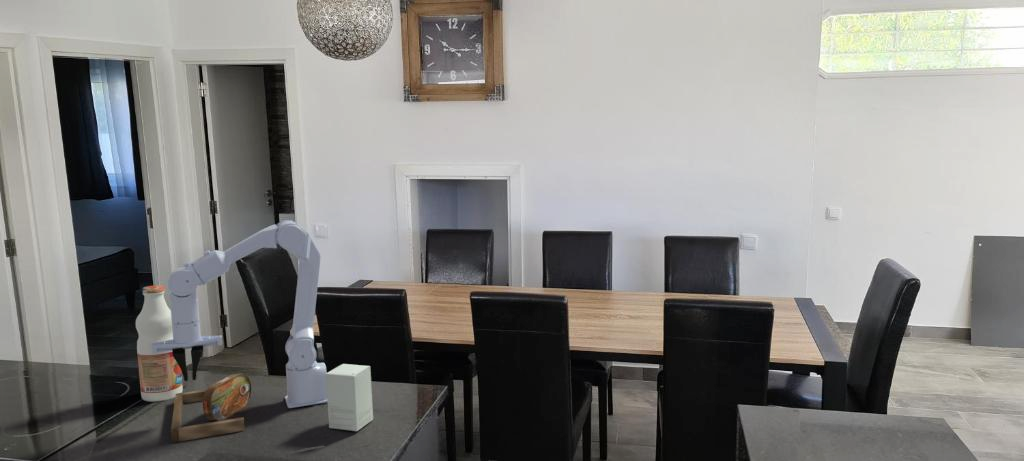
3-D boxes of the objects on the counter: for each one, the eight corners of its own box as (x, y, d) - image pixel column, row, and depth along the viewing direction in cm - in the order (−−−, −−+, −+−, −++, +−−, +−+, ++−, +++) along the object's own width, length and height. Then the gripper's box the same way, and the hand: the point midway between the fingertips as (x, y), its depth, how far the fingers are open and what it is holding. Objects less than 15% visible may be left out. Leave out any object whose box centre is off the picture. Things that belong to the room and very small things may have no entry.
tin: (213, 426, 156) (210, 390, 155) (201, 425, 157) (198, 389, 156) (253, 402, 171) (251, 369, 170) (242, 401, 171) (240, 368, 170)
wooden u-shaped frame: (240, 394, 176) (239, 384, 176) (244, 430, 153) (243, 419, 153) (176, 403, 171) (175, 393, 170) (171, 442, 148) (170, 431, 147)
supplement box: (374, 419, 158) (371, 365, 157) (356, 432, 151) (354, 376, 150) (346, 415, 161) (343, 362, 159) (327, 428, 154) (324, 372, 152)
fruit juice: (136, 396, 176) (126, 287, 173) (175, 386, 183) (166, 281, 179) (148, 405, 169) (138, 292, 166) (188, 395, 176) (180, 286, 173)
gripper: (220, 313, 164) (224, 369, 166) (151, 321, 159) (156, 378, 160) (220, 320, 158) (224, 378, 160) (148, 328, 152) (153, 388, 154)
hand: (190, 379), depth 160 cm, fingers closed
